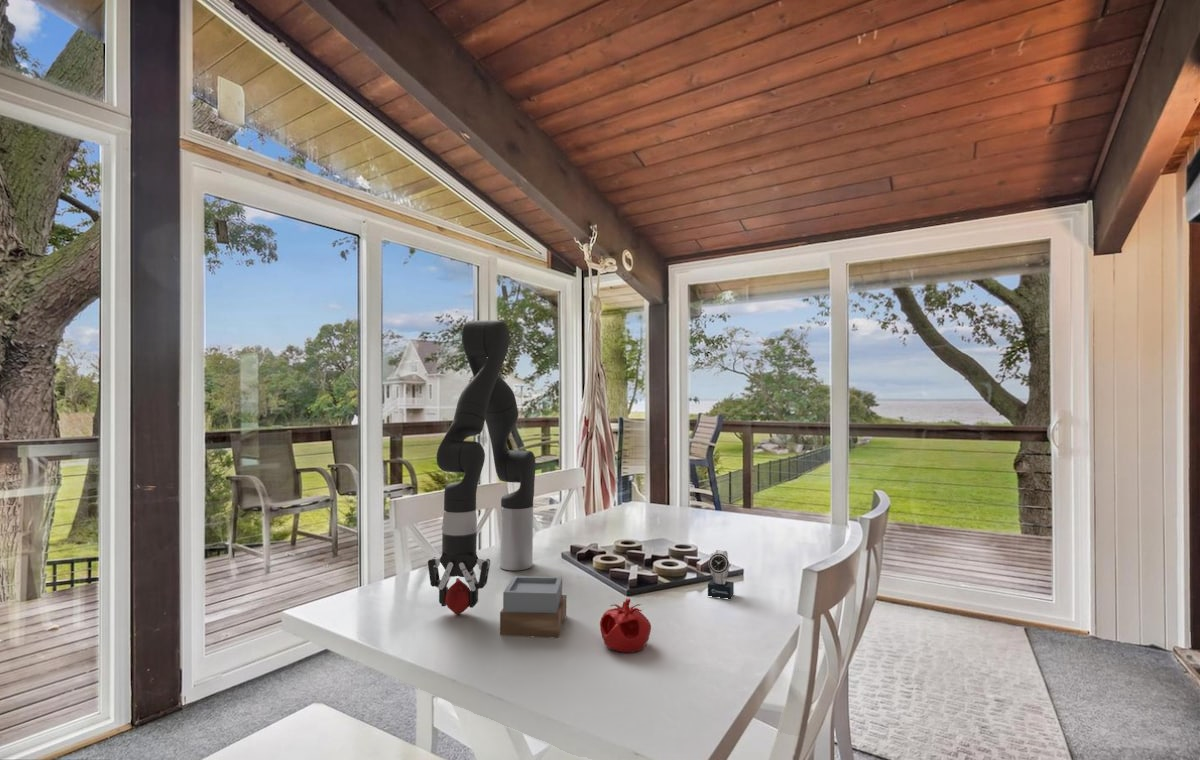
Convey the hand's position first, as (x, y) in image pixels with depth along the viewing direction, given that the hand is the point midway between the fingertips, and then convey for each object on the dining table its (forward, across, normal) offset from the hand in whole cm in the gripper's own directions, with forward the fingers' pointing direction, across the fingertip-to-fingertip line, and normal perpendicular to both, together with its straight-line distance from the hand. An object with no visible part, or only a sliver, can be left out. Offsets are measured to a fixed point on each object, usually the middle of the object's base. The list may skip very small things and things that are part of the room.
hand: (458, 605), depth 131 cm
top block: (-3, -18, +4) cm, 19 cm away
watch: (+2, -60, -20) cm, 63 cm away
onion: (+2, 0, 0) cm, 2 cm away
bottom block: (+2, -18, +4) cm, 19 cm away
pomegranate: (+2, -38, +12) cm, 40 cm away
